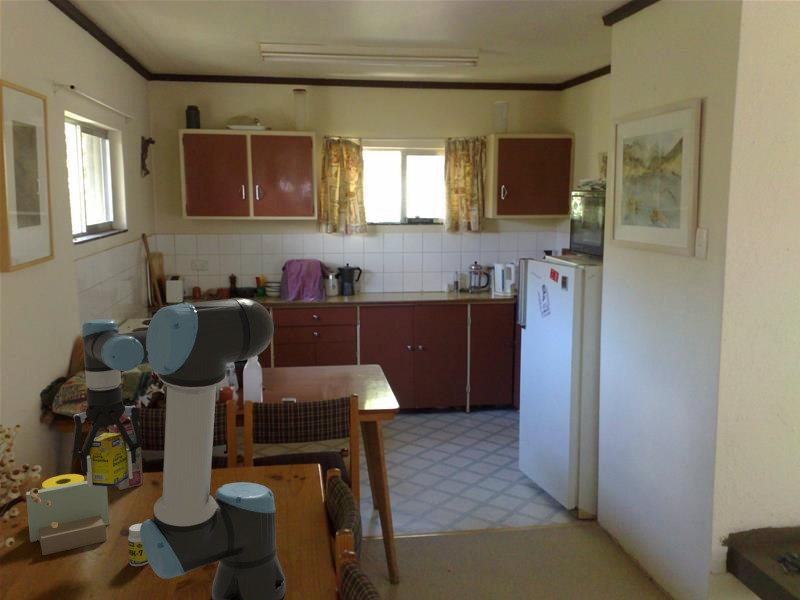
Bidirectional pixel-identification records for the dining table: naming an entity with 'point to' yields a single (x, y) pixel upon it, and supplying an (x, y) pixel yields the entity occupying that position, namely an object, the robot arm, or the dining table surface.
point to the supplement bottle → (136, 547)
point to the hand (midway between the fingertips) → (110, 480)
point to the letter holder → (68, 516)
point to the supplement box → (108, 460)
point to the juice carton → (137, 466)
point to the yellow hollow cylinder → (62, 480)
